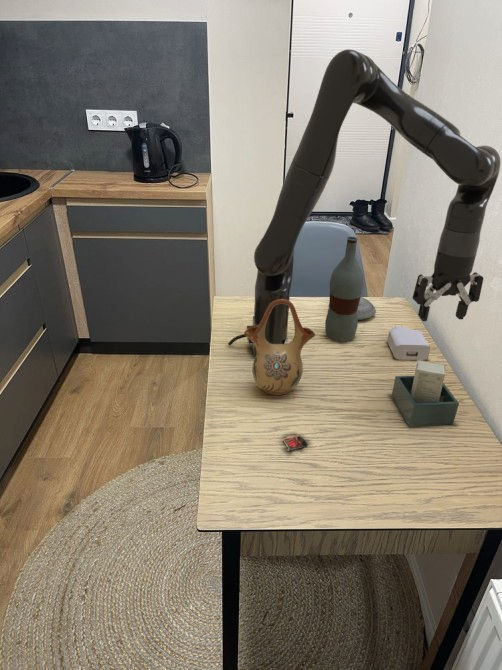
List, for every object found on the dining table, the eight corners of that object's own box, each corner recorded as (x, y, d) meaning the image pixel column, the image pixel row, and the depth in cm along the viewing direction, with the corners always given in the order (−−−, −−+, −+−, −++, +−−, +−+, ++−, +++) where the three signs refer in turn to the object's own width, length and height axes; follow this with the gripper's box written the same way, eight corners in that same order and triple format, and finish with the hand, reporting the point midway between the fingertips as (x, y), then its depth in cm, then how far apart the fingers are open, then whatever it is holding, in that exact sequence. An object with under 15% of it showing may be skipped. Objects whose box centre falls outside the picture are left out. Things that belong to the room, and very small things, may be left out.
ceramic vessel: (307, 380, 126) (316, 290, 114) (311, 402, 118) (321, 308, 106) (243, 379, 126) (244, 289, 113) (242, 401, 118) (244, 306, 106)
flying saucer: (365, 327, 152) (367, 311, 149) (320, 315, 158) (322, 299, 156) (381, 309, 163) (384, 294, 160) (339, 298, 170) (341, 283, 167)
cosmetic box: (435, 407, 118) (446, 364, 112) (434, 418, 114) (446, 374, 108) (407, 401, 119) (417, 358, 113) (406, 412, 116) (416, 368, 110)
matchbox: (309, 444, 105) (310, 443, 105) (291, 454, 102) (291, 452, 102) (295, 432, 108) (295, 431, 108) (277, 441, 106) (277, 439, 105)
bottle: (360, 334, 148) (375, 237, 133) (348, 347, 141) (362, 246, 126) (331, 325, 152) (342, 230, 138) (318, 337, 146) (329, 239, 131)
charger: (412, 333, 149) (427, 360, 136) (381, 333, 149) (394, 359, 136) (415, 319, 147) (431, 345, 134) (384, 319, 147) (396, 344, 134)
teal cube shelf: (409, 426, 111) (414, 405, 108) (391, 396, 121) (395, 376, 118) (453, 424, 112) (459, 403, 109) (431, 394, 122) (437, 374, 119)
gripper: (479, 242, 107) (462, 310, 115) (416, 244, 105) (403, 312, 113) (499, 254, 100) (479, 325, 108) (433, 256, 98) (417, 328, 106)
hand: (441, 318), depth 110 cm, fingers open, 8 cm apart
